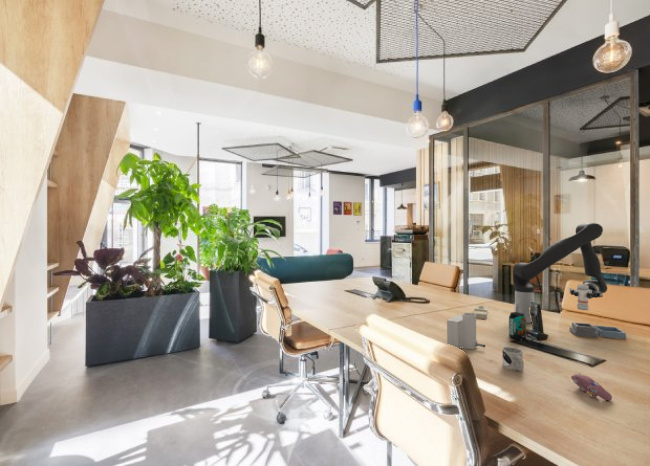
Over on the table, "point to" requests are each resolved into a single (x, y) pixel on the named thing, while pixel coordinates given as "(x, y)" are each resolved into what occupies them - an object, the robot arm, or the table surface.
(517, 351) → the mug
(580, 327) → the block
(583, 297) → the cylinder
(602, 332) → the tray
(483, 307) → the electrical outlet
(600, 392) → the video game controller
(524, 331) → the beverage can
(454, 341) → the grey stepped block
